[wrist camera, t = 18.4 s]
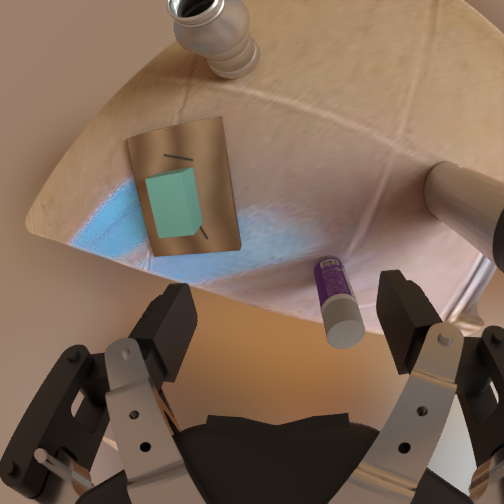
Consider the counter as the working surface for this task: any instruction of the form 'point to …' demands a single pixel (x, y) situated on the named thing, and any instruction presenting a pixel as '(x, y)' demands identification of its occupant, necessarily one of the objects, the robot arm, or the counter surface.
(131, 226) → the counter surface
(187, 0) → the plastic bottle
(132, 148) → the oak board
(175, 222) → the block
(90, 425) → the robot arm
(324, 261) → the container
